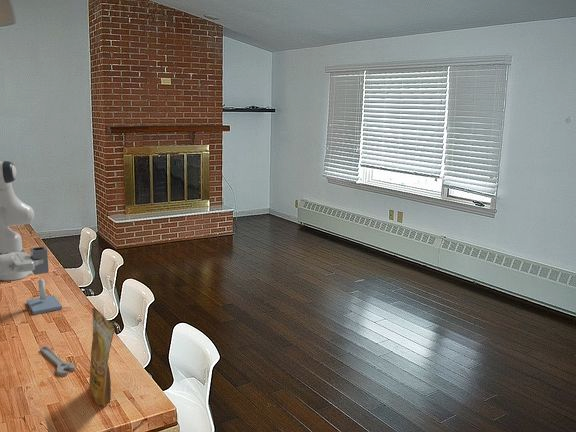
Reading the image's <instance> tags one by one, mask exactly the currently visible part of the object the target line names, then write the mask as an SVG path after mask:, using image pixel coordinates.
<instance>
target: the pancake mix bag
mask: <svg viewBox="0 0 576 432" xmlns="http://www.w3.org/2000/svg"><path fill="white" fill-rule="evenodd" d="M91 311H92V341H91V352H90V369H89V382H88V383H89V389H90V392H91V394H92V396H93V399H94V401H95V404H96V403H97V404H96V405H97V406H103V407H104V408H106V407H107V406H108V405H109V404H110V403H111V401H112V398H111V397H112V396H111V395H112V388H111V386H112V385H111V383H112V382H111V373H110V368H109V357H110V349H111V346H112V341H113V338H114V335H115V326H114V325H113V323H111V322H110V321H109V320H108V319H106V317H105V316H104V315H103V314H102V313H101V311H100V310H98V309H97V308H95V307H92V308H91ZM110 400H111V401H110ZM108 403H109V404H108ZM107 404H108V405H107ZM106 405H107V406H106Z"/></svg>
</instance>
